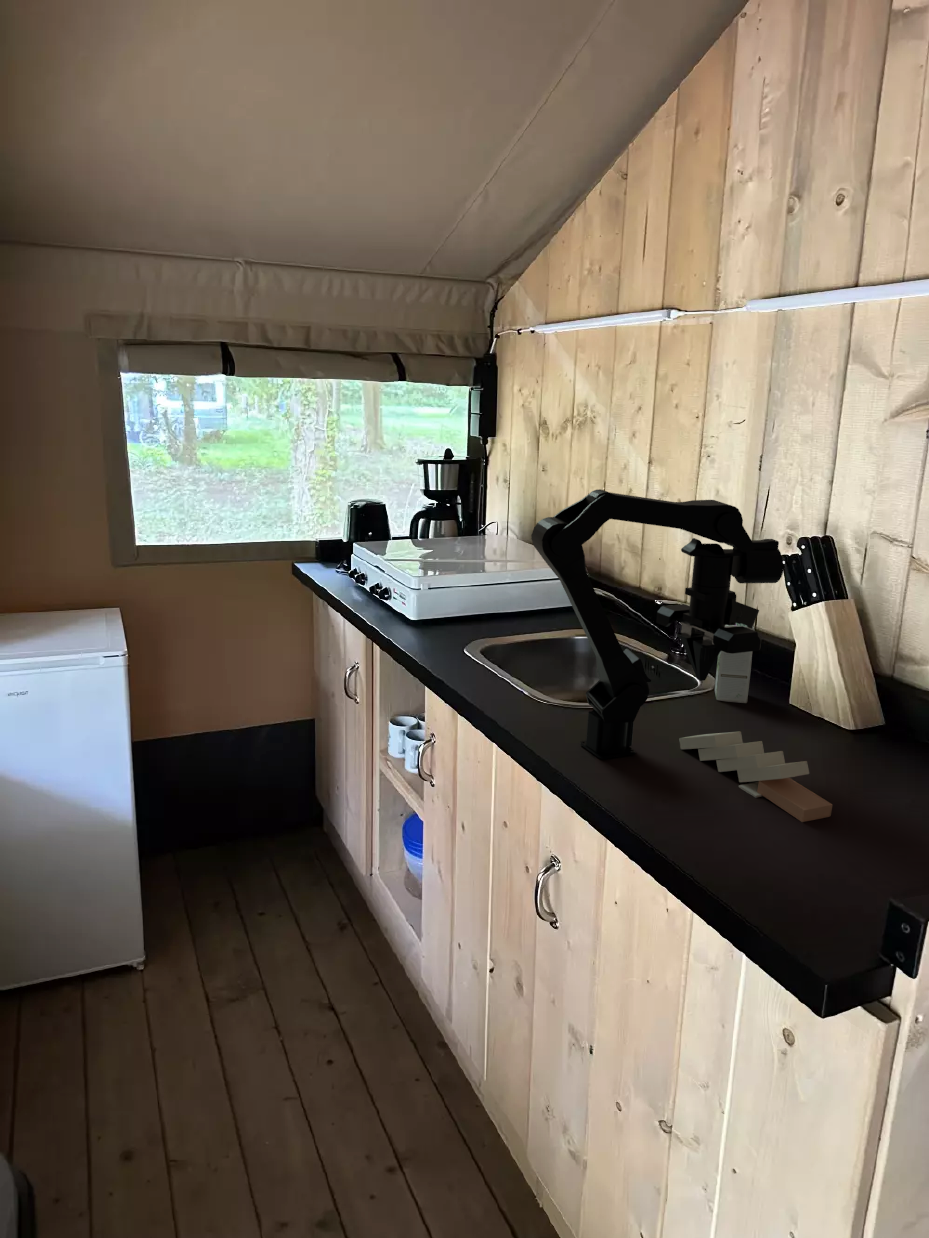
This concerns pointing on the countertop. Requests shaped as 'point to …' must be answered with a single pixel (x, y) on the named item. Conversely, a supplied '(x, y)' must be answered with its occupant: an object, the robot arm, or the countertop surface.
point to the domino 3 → (750, 761)
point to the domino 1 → (711, 740)
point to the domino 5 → (795, 799)
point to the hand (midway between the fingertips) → (701, 679)
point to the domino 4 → (773, 772)
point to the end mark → (751, 789)
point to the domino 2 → (731, 751)
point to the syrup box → (733, 674)
